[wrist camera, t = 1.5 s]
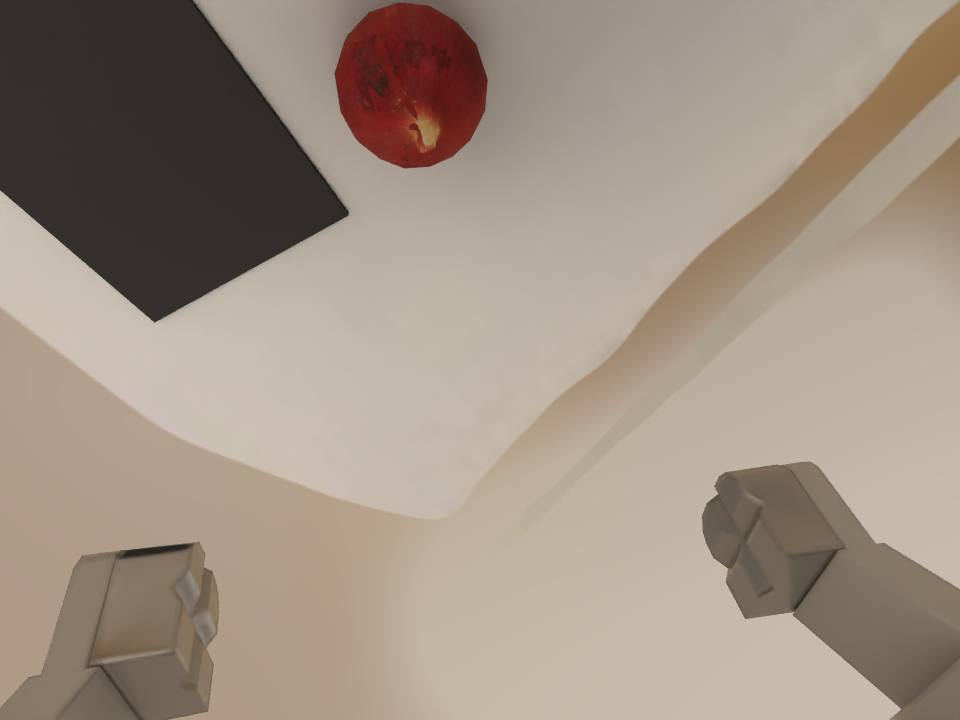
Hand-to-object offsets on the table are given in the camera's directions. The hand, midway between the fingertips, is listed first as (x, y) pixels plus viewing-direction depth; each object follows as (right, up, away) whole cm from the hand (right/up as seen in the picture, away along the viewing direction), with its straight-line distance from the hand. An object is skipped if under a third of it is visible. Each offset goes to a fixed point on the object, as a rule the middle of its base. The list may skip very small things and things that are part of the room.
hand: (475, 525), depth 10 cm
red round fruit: (-3, +16, +18) cm, 24 cm away
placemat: (-17, +14, +16) cm, 27 cm away
